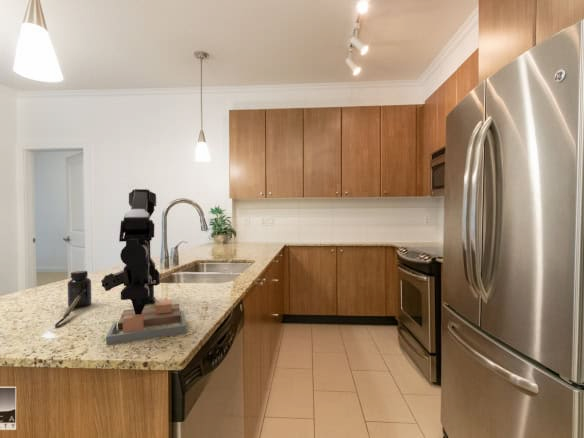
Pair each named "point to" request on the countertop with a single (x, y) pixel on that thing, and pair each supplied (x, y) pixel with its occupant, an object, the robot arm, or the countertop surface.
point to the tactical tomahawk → (71, 307)
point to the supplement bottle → (79, 289)
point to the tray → (144, 333)
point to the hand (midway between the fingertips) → (138, 316)
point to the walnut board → (154, 316)
